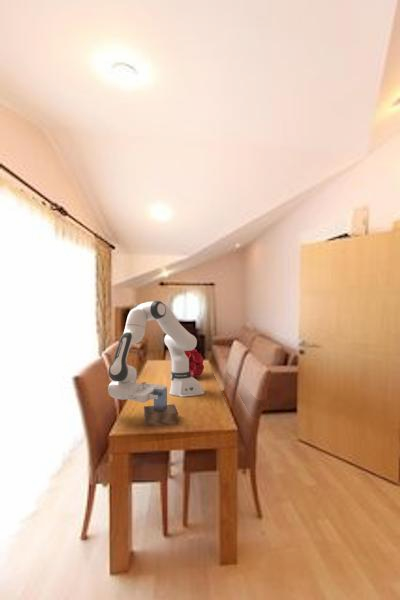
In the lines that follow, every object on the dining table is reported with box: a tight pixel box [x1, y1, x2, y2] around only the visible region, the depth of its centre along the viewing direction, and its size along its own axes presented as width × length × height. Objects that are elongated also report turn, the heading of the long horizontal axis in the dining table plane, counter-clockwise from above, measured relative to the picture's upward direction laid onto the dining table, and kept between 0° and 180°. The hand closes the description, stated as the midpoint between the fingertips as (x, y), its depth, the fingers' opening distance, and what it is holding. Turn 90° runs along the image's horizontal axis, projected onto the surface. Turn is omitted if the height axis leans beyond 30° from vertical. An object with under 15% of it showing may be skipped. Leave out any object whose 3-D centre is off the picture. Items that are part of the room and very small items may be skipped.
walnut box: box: [143, 403, 179, 428], centre depth 182 cm, size 16×14×6 cm
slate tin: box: [153, 384, 168, 411], centre depth 182 cm, size 5×5×12 cm
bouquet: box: [184, 348, 205, 378], centre depth 275 cm, size 22×24×30 cm
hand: (162, 394), depth 182 cm, fingers open, 8 cm apart
